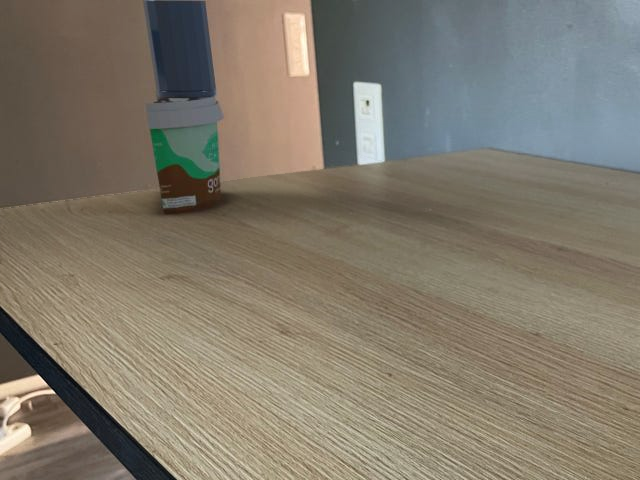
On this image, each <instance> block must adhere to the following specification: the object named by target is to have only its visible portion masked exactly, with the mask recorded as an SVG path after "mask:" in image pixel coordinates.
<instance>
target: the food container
mask: <svg viewBox="0 0 640 480" xmlns="http://www.w3.org/2000/svg"><path fill="white" fill-rule="evenodd" d="M155 95H156V101H153V102H149V103H145V109H146V117H147V125H148V126H147V127H148V130H149V134H150V138H151V139H150V140H151V145H152V152H153V157H154V162H155V163H154V164H155V169H156V175H157V180H158V187H159V192H160V198H161V204H162V211H163V215H165V216H166V215H175V214H185V213H191V212H197V211H202V210H206V209H209V208H212V207H214V206H217V205H219V204H220V203H221V202H222V189H221V188H222V187H221V185H222V184H221V173H220V172H221V169H220V150H219V131H218V122H220V121H223V120H224V118H225V116H224V113H223V110H222V107H221V104H220V102H219V101H218V100H217V99H216V95H215V96H211V97H203V98H162V97H159V96H158V94H157V89H156V90H155Z"/></svg>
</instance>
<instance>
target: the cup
mask: <svg viewBox="0 0 640 480" xmlns="http://www.w3.org/2000/svg"><path fill="white" fill-rule="evenodd" d="M142 3H143V10H144V17H145V23H146V24H145V25H146V29H147V30H146V31H147V37H148V45H149V50H150V57H151V63H152V69H153V76H154V84H155V89H156V90H157V94H158V96H159V97H162V98H203V97H211V96H215V97H216V96H218V91H217V82H216V73H215V64H214V57H213V56H214V55H213V48H212V39H211V31H210V25H209V17H208V7H207V1H206V0H142Z"/></svg>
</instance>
